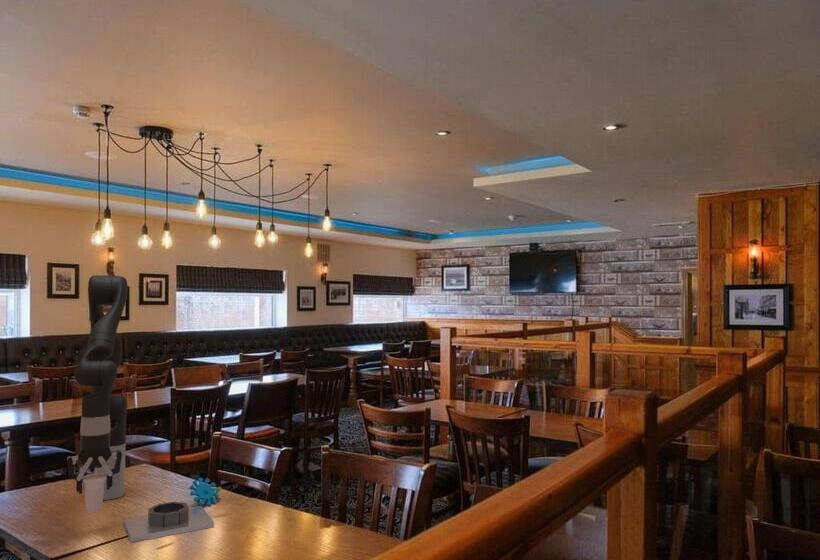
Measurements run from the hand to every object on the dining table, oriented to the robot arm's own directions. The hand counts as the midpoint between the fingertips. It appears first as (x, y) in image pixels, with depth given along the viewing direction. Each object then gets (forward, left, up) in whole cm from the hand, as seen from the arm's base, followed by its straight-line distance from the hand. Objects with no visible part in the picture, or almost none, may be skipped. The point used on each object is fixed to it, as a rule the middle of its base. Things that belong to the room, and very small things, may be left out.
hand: (94, 490), depth 171 cm
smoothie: (0, 0, -6) cm, 6 cm away
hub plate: (+5, +19, -12) cm, 23 cm away
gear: (-9, +33, -12) cm, 36 cm away
